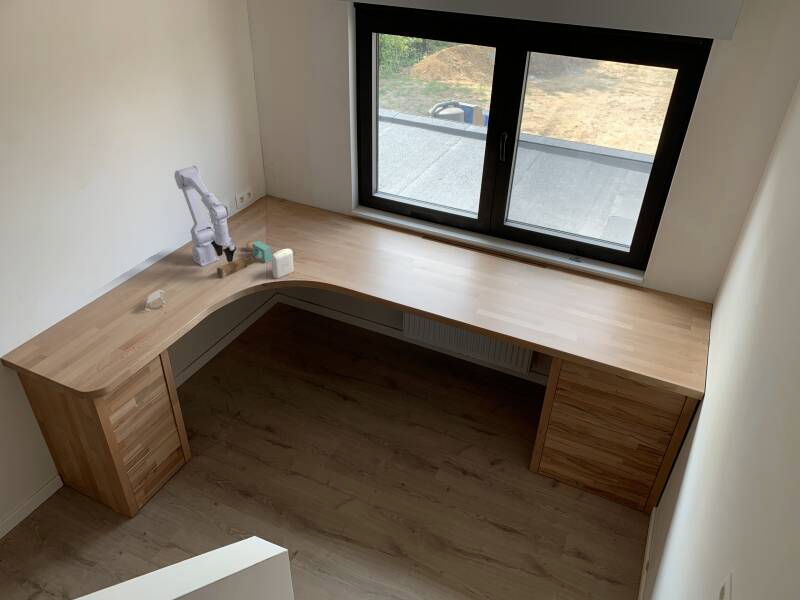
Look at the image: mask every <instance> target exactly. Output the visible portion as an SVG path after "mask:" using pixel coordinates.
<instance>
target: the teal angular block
mask: <svg viewBox="0 0 800 600" xmlns="http://www.w3.org/2000/svg"><path fill="white" fill-rule="evenodd" d="M253 242H254V243H252V248H253V252H252V254H253V256H252V257H254V258H259V257H261V259H262V262H263V263H264V264H266V263H269V262H272V255H273V254H272V248H271V246H269V245H267V244H266V243H264V242H262V241H261V240H257V241H253Z"/></svg>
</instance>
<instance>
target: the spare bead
mask: <svg viewBox="0 0 800 600" xmlns="http://www.w3.org/2000/svg"><path fill="white" fill-rule="evenodd" d="M254 242H255V241H248V242H246V244H245V245H246V246H245V247H246V252H248V253H253V248H252V243H254Z"/></svg>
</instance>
